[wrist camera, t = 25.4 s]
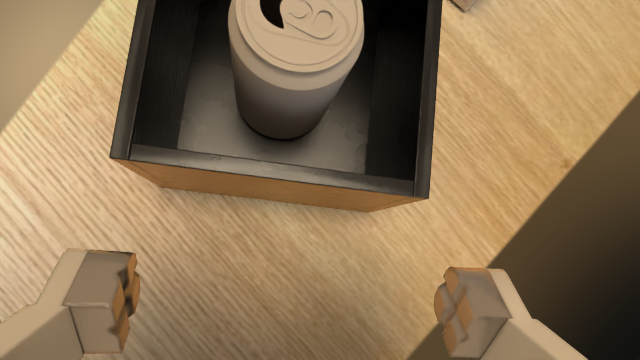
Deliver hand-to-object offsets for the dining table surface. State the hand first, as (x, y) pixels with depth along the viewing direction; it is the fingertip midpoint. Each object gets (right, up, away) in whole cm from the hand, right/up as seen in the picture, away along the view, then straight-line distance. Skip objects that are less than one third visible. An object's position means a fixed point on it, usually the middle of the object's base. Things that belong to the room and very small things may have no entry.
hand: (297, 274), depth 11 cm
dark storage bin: (-2, +8, +20) cm, 22 cm away
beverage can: (-2, +8, +19) cm, 21 cm away
